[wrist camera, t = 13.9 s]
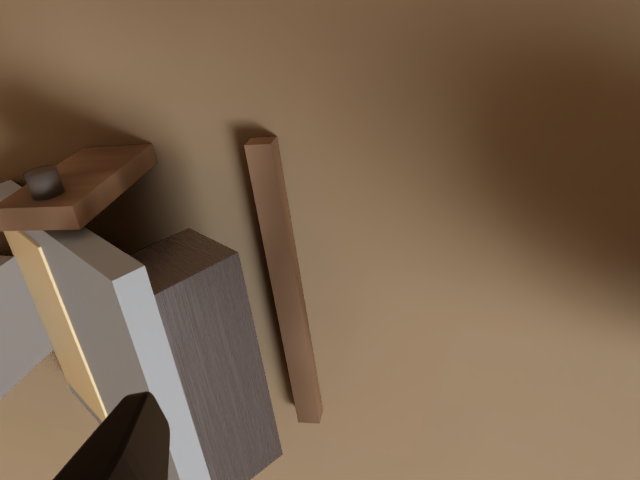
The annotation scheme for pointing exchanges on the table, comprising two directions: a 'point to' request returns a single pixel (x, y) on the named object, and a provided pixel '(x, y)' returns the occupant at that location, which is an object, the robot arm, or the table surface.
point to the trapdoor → (157, 340)
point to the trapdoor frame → (130, 165)
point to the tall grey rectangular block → (18, 327)
